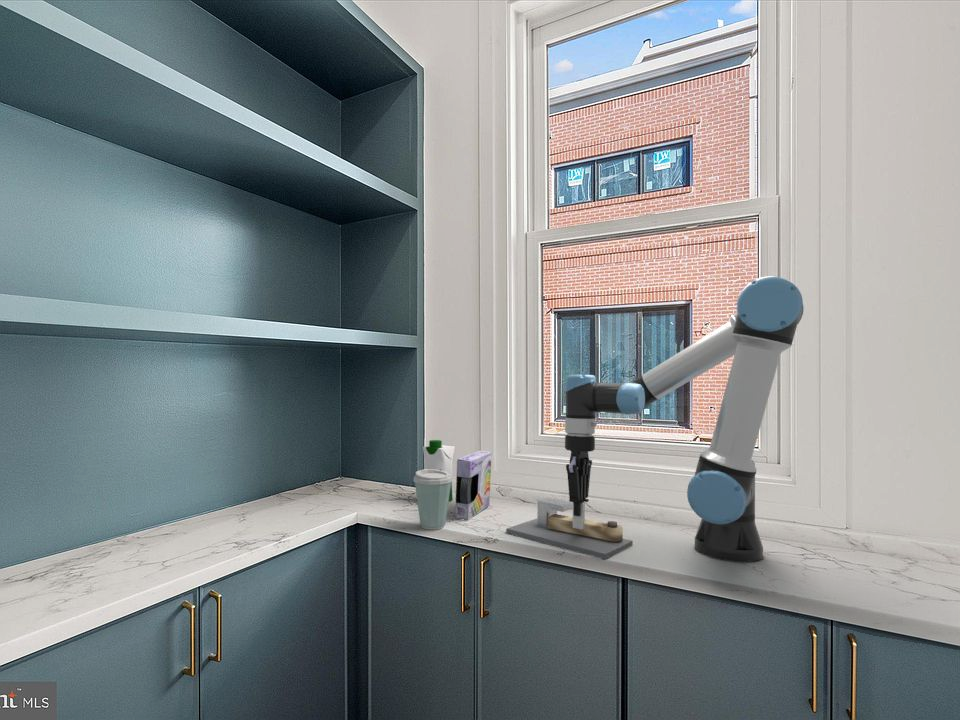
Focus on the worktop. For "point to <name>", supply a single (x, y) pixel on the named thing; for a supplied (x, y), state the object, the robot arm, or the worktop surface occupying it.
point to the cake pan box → (472, 484)
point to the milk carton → (439, 458)
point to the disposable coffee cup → (432, 497)
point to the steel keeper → (550, 509)
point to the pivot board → (569, 540)
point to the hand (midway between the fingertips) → (578, 527)
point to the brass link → (587, 528)
